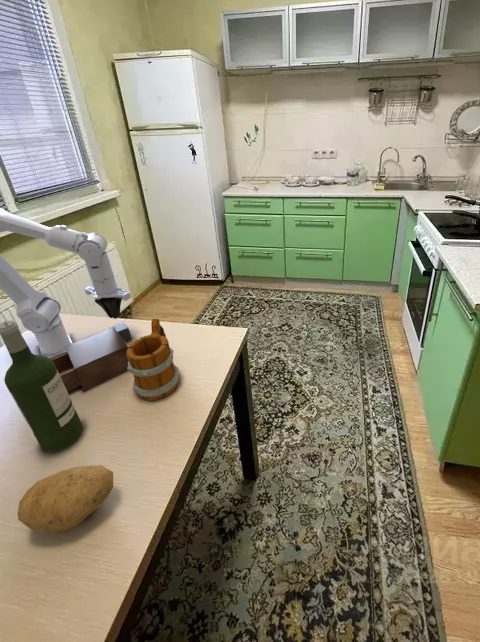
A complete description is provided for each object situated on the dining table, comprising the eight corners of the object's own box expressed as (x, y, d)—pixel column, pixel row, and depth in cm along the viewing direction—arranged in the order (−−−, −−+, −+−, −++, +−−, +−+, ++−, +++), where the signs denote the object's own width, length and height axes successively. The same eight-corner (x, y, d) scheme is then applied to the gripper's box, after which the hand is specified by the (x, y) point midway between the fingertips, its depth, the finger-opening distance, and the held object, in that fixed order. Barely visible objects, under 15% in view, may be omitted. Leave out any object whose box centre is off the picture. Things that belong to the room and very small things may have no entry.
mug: (129, 404, 78) (112, 356, 72) (149, 358, 93) (136, 315, 86) (174, 400, 79) (162, 352, 72) (187, 355, 94) (177, 312, 87)
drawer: (24, 414, 75) (14, 397, 73) (19, 390, 82) (10, 372, 80) (100, 379, 85) (93, 362, 82) (89, 359, 92) (83, 343, 89)
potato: (117, 524, 55) (104, 497, 52) (21, 557, 52) (0, 530, 48) (124, 470, 64) (113, 444, 60) (41, 495, 60) (25, 469, 56)
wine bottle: (86, 438, 70) (34, 325, 57) (43, 460, 66) (-25, 344, 53) (80, 415, 76) (31, 307, 63) (39, 434, 72) (-22, 323, 58)
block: (112, 338, 102) (108, 327, 100) (127, 332, 104) (123, 321, 102) (117, 345, 99) (113, 333, 97) (131, 338, 101) (128, 327, 99)
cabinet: (84, 391, 83) (74, 368, 79) (73, 368, 90) (64, 346, 87) (134, 367, 90) (127, 345, 87) (120, 347, 98) (114, 327, 94)
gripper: (70, 280, 90) (85, 320, 96) (112, 286, 86) (125, 328, 92) (90, 269, 96) (103, 307, 102) (130, 274, 92) (141, 314, 98)
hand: (115, 316), depth 98 cm, fingers closed
